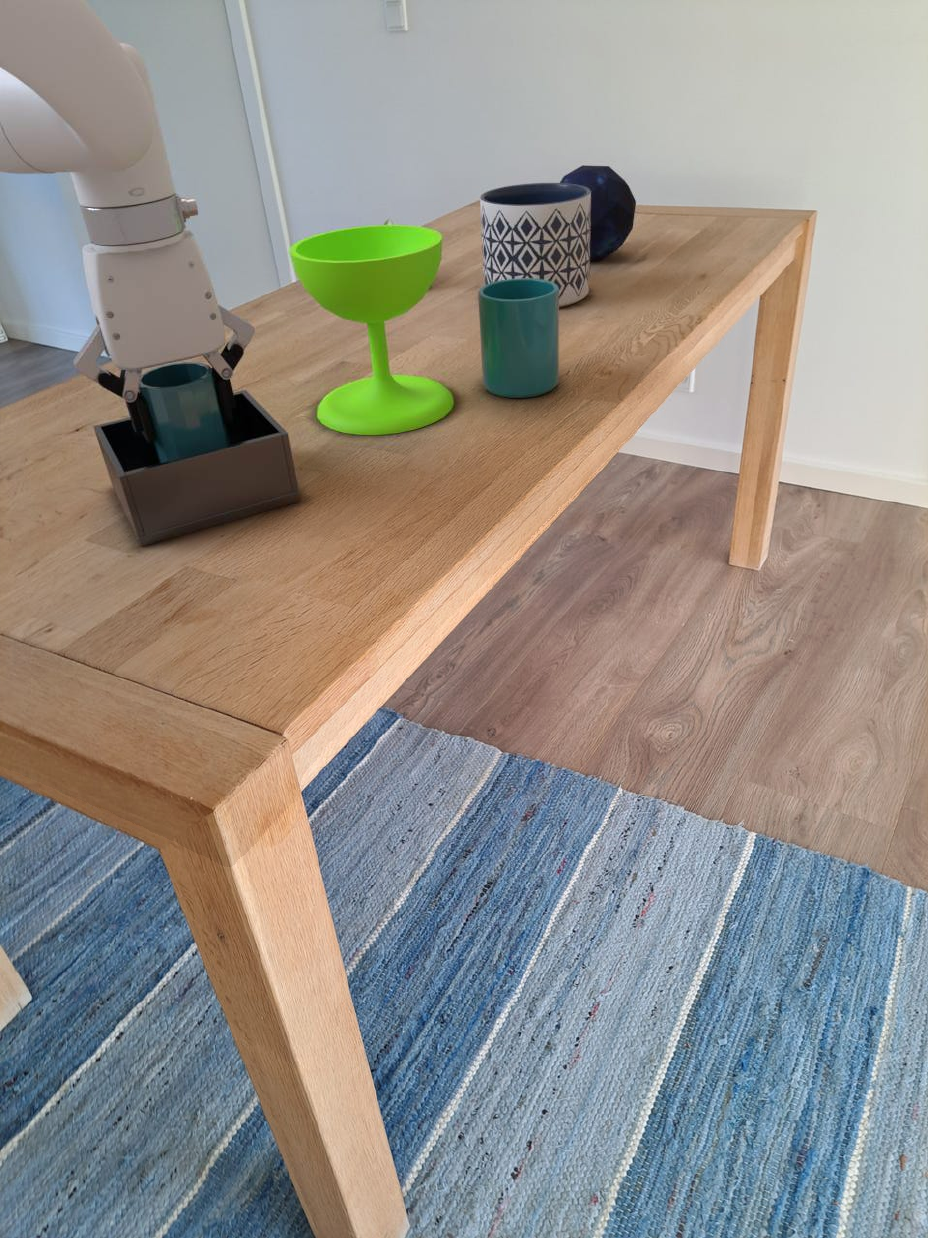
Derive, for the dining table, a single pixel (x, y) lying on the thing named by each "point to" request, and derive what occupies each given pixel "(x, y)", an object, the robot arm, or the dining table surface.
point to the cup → (519, 336)
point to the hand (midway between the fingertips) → (187, 425)
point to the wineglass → (374, 319)
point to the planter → (538, 236)
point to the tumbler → (183, 409)
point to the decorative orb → (605, 208)
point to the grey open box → (200, 475)
